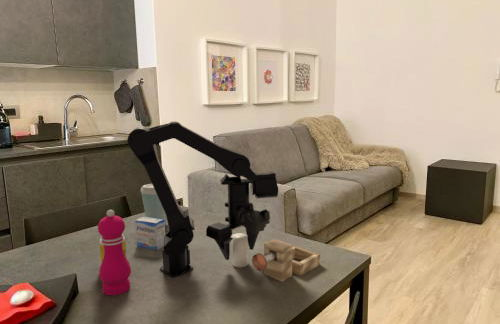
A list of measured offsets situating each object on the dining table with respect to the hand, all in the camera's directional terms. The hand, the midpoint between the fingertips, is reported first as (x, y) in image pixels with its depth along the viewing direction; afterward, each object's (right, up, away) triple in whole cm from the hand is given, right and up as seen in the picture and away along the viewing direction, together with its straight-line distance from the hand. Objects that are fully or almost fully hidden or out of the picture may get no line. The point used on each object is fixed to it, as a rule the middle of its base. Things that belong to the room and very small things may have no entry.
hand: (239, 254), depth 106 cm
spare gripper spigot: (0, -3, +1) cm, 3 cm away
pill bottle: (-34, -4, -1) cm, 34 cm away
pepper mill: (-29, -6, -12) cm, 32 cm away
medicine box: (-28, -1, +14) cm, 31 cm away
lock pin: (+8, 0, -9) cm, 12 cm away
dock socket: (+14, -3, -3) cm, 14 cm away
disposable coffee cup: (-30, +3, +32) cm, 44 cm away
